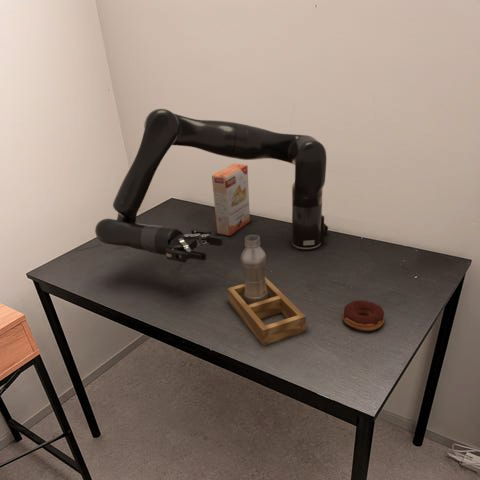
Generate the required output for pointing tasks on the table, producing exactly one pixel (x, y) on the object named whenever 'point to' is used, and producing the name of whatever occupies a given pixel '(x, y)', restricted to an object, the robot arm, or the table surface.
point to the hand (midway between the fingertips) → (213, 248)
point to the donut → (357, 320)
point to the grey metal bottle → (254, 270)
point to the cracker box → (231, 198)
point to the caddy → (268, 314)
